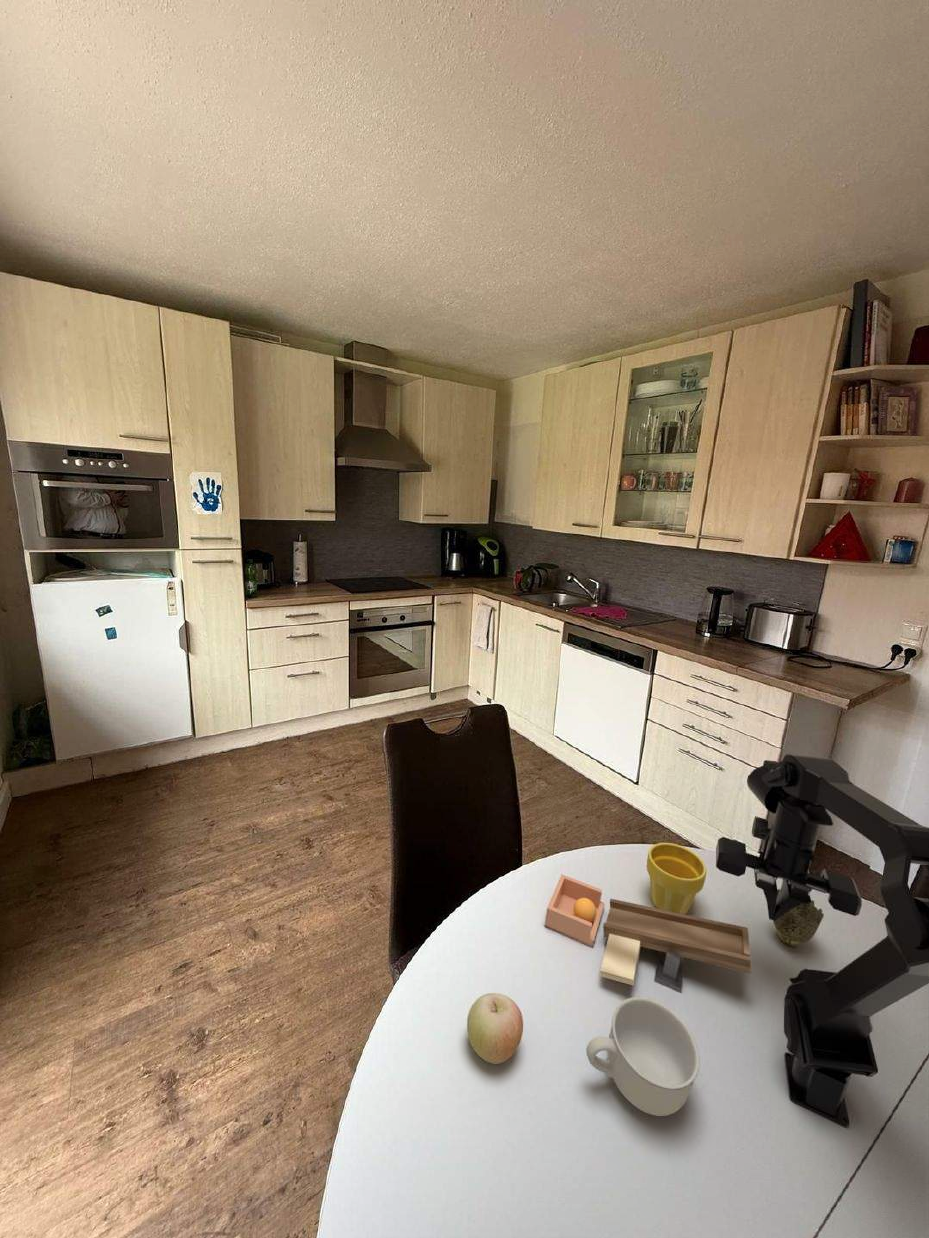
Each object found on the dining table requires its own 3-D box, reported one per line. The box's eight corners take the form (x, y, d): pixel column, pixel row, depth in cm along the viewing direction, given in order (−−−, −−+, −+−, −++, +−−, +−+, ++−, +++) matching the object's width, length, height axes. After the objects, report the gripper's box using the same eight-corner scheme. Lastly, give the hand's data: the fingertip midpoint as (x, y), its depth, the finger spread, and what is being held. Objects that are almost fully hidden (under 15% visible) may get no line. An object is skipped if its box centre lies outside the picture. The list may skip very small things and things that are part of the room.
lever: (754, 1019, 70) (753, 1003, 70) (594, 974, 80) (593, 959, 80) (748, 939, 83) (747, 925, 83) (611, 909, 93) (610, 896, 93)
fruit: (474, 1082, 66) (479, 1034, 64) (460, 1025, 72) (464, 981, 71) (528, 1068, 68) (535, 1021, 66) (509, 1014, 75) (515, 971, 73)
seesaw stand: (680, 992, 80) (686, 966, 79) (654, 980, 82) (659, 955, 80) (684, 936, 91) (689, 913, 89) (661, 927, 92) (665, 904, 91)
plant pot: (629, 887, 101) (637, 845, 99) (672, 879, 104) (680, 838, 102) (663, 929, 92) (673, 884, 89) (709, 919, 95) (719, 875, 93)
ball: (595, 929, 89) (591, 909, 89) (573, 926, 91) (569, 906, 91) (600, 914, 93) (596, 894, 92) (578, 911, 95) (574, 891, 94)
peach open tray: (592, 947, 87) (595, 928, 86) (544, 926, 90) (547, 907, 89) (603, 909, 95) (606, 891, 94) (559, 891, 99) (561, 874, 98)
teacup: (674, 1047, 72) (684, 1002, 70) (701, 1141, 61) (714, 1091, 59) (575, 1031, 73) (582, 987, 71) (584, 1120, 62) (593, 1071, 61)
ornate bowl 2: (822, 960, 88) (833, 922, 86) (780, 956, 88) (790, 918, 86) (796, 925, 95) (806, 889, 93) (756, 921, 95) (766, 885, 93)
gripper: (855, 825, 80) (831, 907, 84) (725, 788, 88) (708, 865, 92) (875, 868, 70) (846, 959, 74) (726, 823, 78) (707, 907, 82)
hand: (771, 918), depth 81 cm, fingers closed
